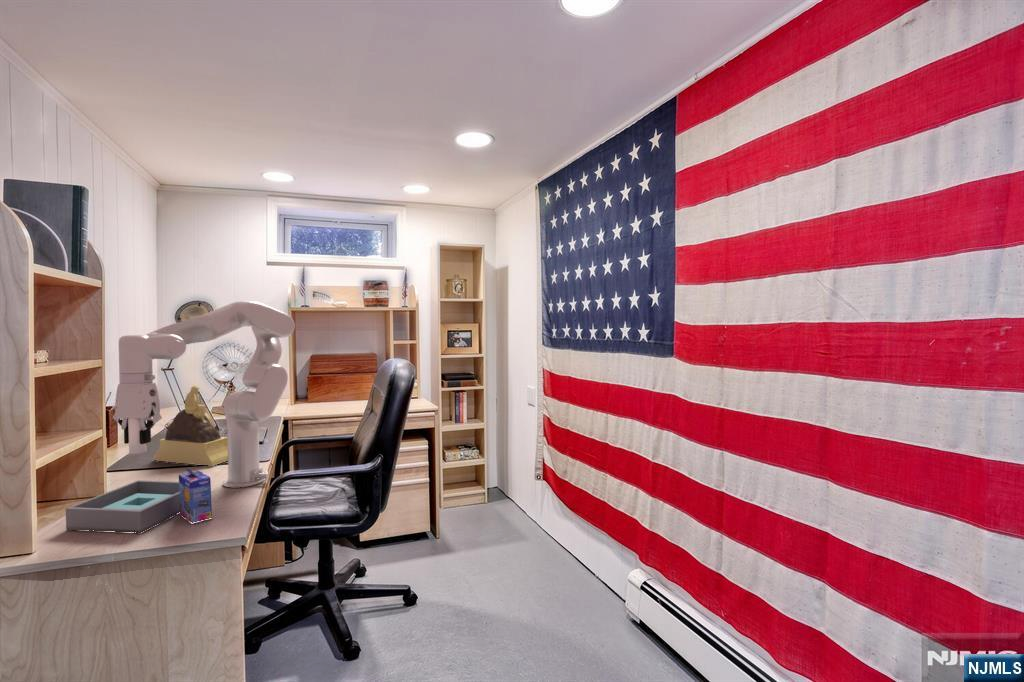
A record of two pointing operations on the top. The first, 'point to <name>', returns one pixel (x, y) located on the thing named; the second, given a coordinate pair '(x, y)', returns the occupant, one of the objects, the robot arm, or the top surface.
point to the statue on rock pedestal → (193, 436)
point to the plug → (135, 437)
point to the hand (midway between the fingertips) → (137, 442)
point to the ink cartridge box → (195, 496)
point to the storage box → (127, 508)
